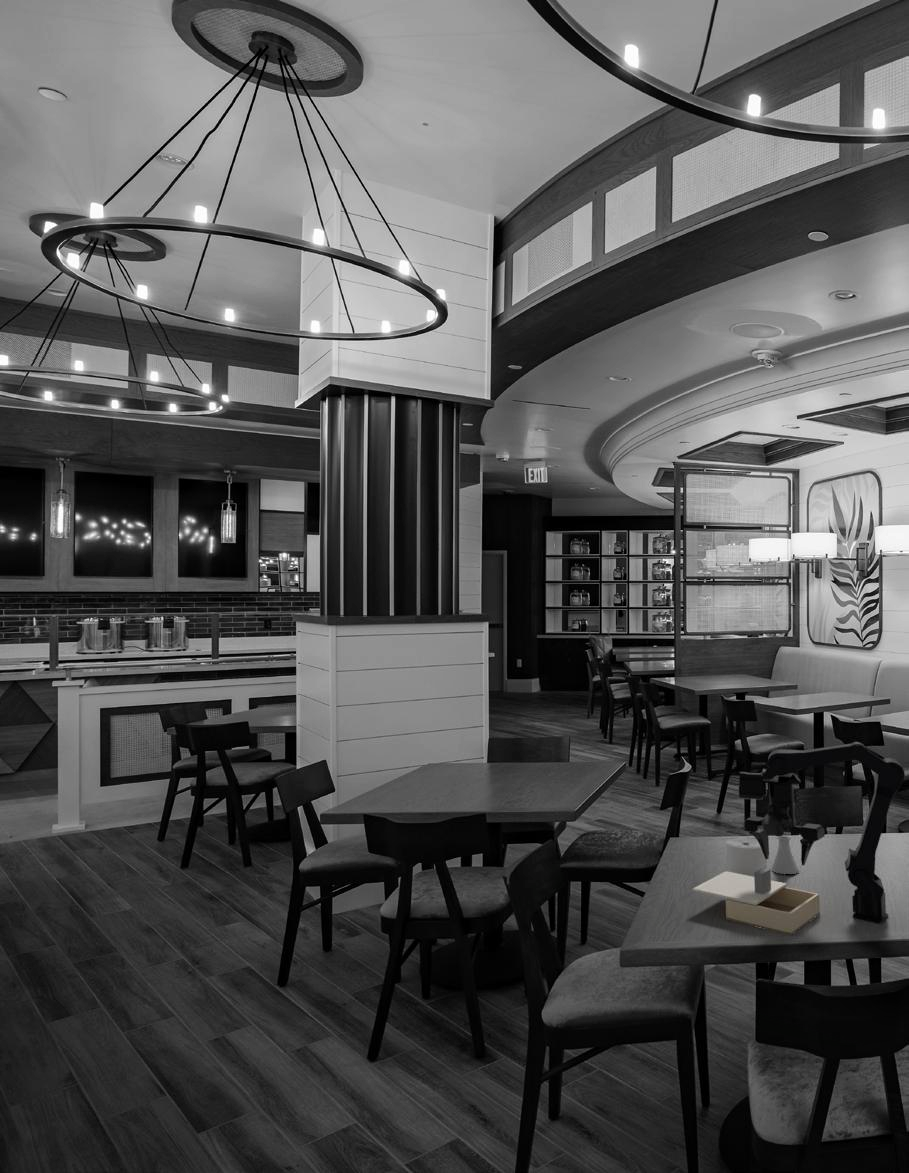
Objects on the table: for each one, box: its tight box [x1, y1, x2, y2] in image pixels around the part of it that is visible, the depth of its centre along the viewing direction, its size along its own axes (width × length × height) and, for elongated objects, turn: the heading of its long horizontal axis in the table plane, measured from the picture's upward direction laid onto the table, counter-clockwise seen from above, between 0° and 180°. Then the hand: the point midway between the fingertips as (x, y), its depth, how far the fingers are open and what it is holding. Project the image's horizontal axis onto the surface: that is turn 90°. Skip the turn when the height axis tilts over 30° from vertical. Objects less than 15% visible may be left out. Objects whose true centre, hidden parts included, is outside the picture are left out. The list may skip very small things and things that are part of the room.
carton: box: [725, 886, 821, 936], centre depth 209 cm, size 16×18×5 cm
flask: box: [770, 835, 800, 876], centre depth 244 cm, size 7×7×10 cm
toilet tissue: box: [725, 837, 768, 877], centre depth 239 cm, size 11×12×10 cm
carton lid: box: [692, 868, 788, 905], centre depth 215 cm, size 16×18×6 cm
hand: (784, 862), depth 215 cm, fingers open, 9 cm apart
